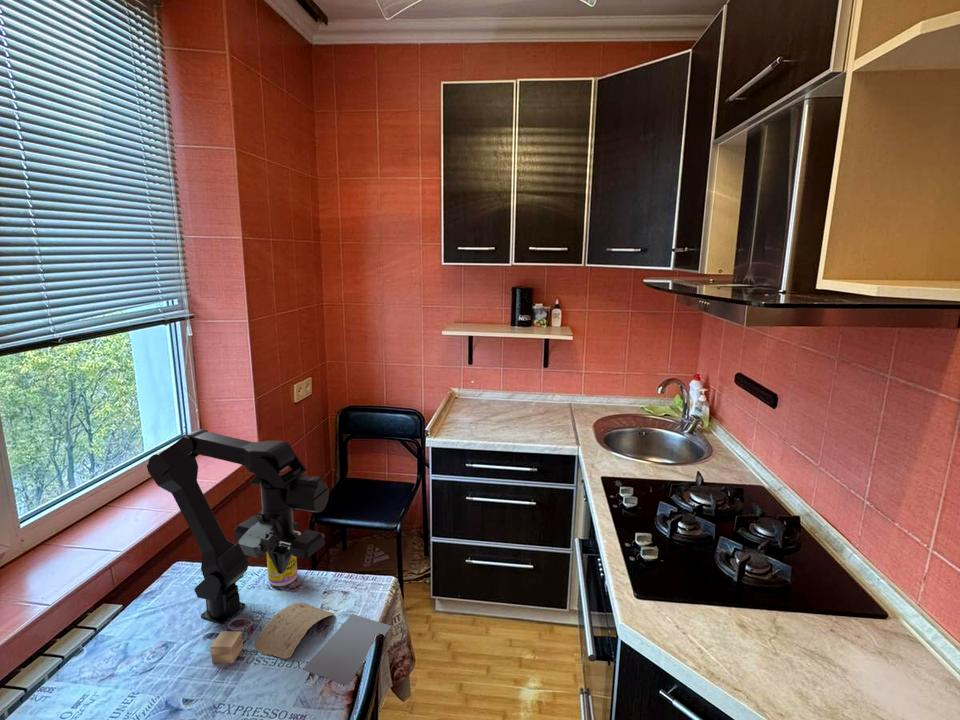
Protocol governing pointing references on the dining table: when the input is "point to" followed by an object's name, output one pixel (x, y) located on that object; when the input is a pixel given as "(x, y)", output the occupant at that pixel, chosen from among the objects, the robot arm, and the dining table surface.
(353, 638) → the slate mat
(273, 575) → the supplement bottle
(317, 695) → the dining table surface
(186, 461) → the robot arm
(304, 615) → the clay tablet
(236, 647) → the oak block
